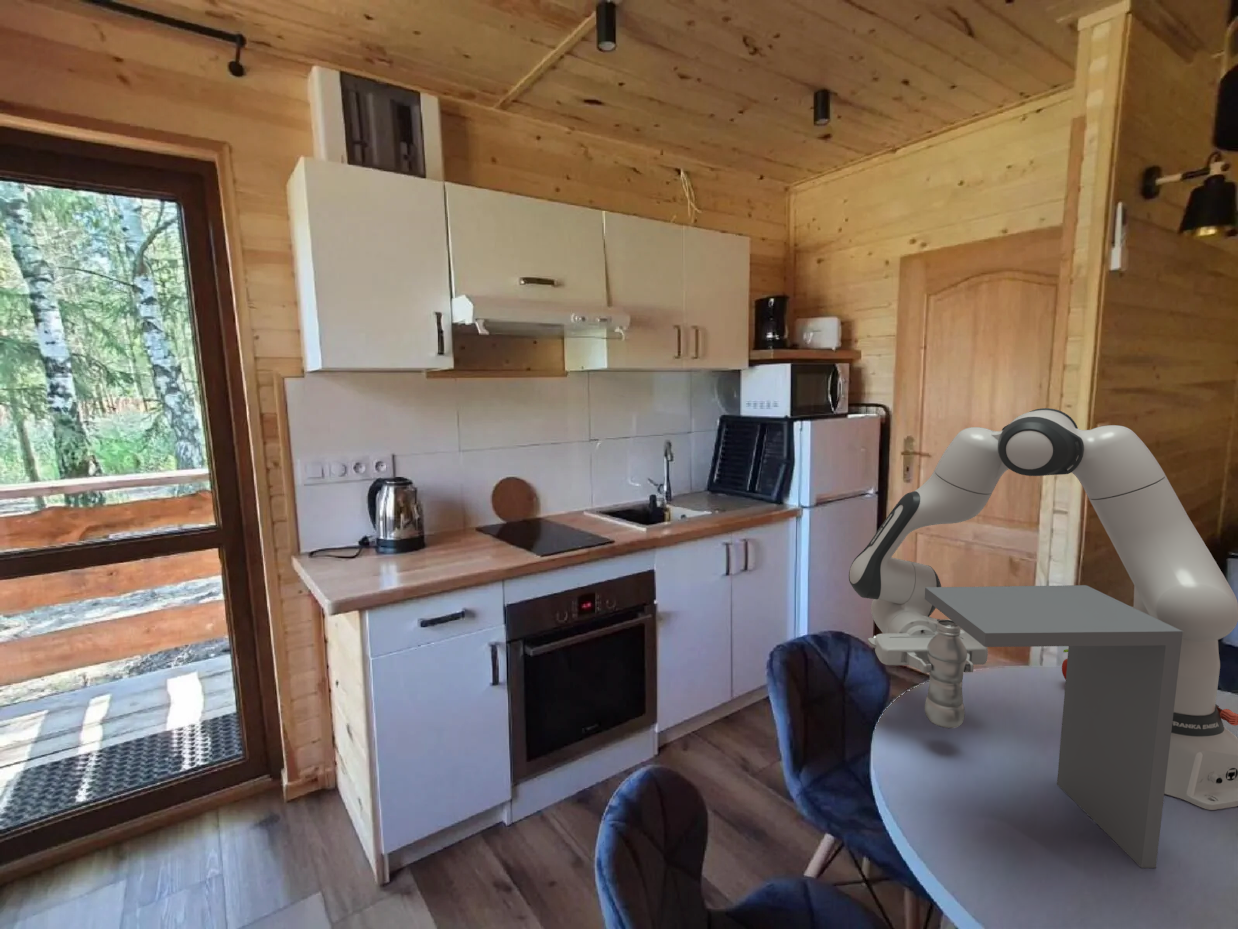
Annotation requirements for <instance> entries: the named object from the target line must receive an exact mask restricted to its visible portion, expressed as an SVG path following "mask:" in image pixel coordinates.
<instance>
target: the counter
mask: <svg viewBox="0 0 1238 929" xmlns="http://www.w3.org/2000/svg"><path fill="white" fill-rule="evenodd" d="M925 600H927V601H928V602H929V603H930V604H932V605H933V606H934V607H935V608H936V609H937V610H938V611H939V612H940V613H941V614H942V615H944V616H945V617H947V619H948V620H952V621H953V622H954V623H955V624H957V625H958V626H959V627H960V628H961V629H963V630H964V631H965V632H967V633H968V634H969V635H970V636H972V637H973V638H974V639H975V640H977V641H978V642H979V643H980V644H982V645H983V646H984V647H987V648H998V647H999V648H1001V647H1002V648H1005V647H1006V648H1007V647H1008V648H1011V647H1012V648H1013V647H1016V648H1017V647H1019V648H1021V647H1022V648H1023V647H1026V648H1027V647H1028V648H1031V647H1067V649H1068V652H1067V659H1068V660H1067V671H1066V680H1065V682H1064V683H1065V686H1064V696H1063V698H1064V699H1063V706H1062V707H1063V710H1062V718H1061V719H1062V720H1061V733H1060V741H1059V742H1060V745H1059V753H1058V754H1059V756H1058V765H1057V766H1058V767H1057V768H1058V769H1057V779H1056V780H1057V781H1056V785H1058V787H1059V788H1060V789H1061V790H1062V791H1063V792H1064V793H1065V794H1066V795H1067V796H1068V797H1069V798H1070V799H1071V800H1072V801H1073V802H1074V803H1076V805H1078V806H1079V808H1081V810H1082V811H1083V812H1084V813H1085V814H1087V815H1088V817H1089V818H1090V819H1091V820H1092V821H1094V823H1096V824H1097V826H1098V827H1100V829H1101V830H1102V831H1103V832H1104V833H1106V834H1107V835H1108V836H1109V838H1111V840H1113V841H1114V842H1115V843H1116V845H1118V847H1120V848H1121V849H1122V850H1123V851H1124V852H1125V853H1126V854H1127V856H1129V857H1130V858H1131V859H1132V860H1133V861H1134V863H1136V864H1137V865H1138V866H1139V867H1140V868H1141V869H1156V868H1157V862H1158V861H1157V860H1158V854H1159V853H1158V852H1159V842H1160V836H1161V825H1162V819H1163V818H1162V817H1163V816H1162V815H1163V809H1164V802H1165V801H1164V800H1165V794H1164V792H1165V783H1166V774H1167V766H1168V757H1169V748H1170V739H1171V730H1172V722H1173V713H1174V704H1175V695H1176V687H1177V678H1178V669H1179V660H1180V651H1181V643H1182V634H1183V631H1181V630H1179V629H1177V628H1175V627H1173V626H1171V625H1169V624H1166V623H1164V622H1162V621H1160V620H1158V619H1156V618H1154V617H1152V616H1150V615H1148V614H1146V613H1143V612H1141V611H1139V610H1137V609H1135V608H1134V606H1131V605H1128V604H1126V603H1124V602H1123V601H1120V600H1118V599H1115V598H1114V597H1112V596H1110V595H1108V594H1105V593H1103V592H1102V591H1099V590H1097V589H1095V588H1093V587H1091V586H1089V585H1087V584H1081V585H1079V584H1078V585H1075V584H1074V585H1014V586H1013V585H1009V586H1007V585H1005V586H1001V585H1000V586H999V585H997V586H995V585H994V586H941V587H925Z"/></svg>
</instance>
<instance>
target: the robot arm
mask: <svg viewBox="0 0 1238 929" xmlns="http://www.w3.org/2000/svg"><path fill="white" fill-rule="evenodd" d="M1009 470H1010V471H1012V472H1014V473H1016V474H1018V475H1022V476H1029V477H1043V476H1044V477H1046V476H1057V475H1058V476H1059V475H1060V476H1061V475H1069V474H1072V475H1074V476H1075V477H1076V478H1077V480H1078V481H1079V482H1080V484H1081V486H1082V488H1083V490H1084V492H1085V493H1086V494H1085V495H1086V496H1087V499H1088V500H1089V502H1090V504H1091V506H1092V507H1093V510H1094V511H1095V513H1096V515H1097V518H1098V519H1099V521H1100V524H1102V527H1103V528H1104V530H1105V532H1106V534H1107V536H1108V537H1109V539H1110V541H1111V543H1112V546H1113V547H1114V549H1115V551H1116V553H1117V555H1118V556H1119V558H1120V561H1121V562H1122V565H1123V567H1124V568H1125V570H1126V573H1127V574H1128V576H1129V578H1130V580H1131V582H1132V584H1133V585H1134V586H1133V588H1134V589H1133V608H1135V609H1137V610H1139V611H1141V612H1143V613H1146V614H1148V615H1150V616H1152V617H1154V618H1156V619H1158V620H1160V621H1162V622H1164V623H1166V624H1169V625H1171V626H1173V627H1175V628H1177V629H1179V630H1181V631H1183V634H1182V643H1181V651H1180V660H1179V669H1178V678H1177V687H1176V695H1175V704H1174V713H1173V722H1172V730H1171V739H1170V748H1169V757H1168V766H1167V774H1166V783H1165V792H1164V795H1168V796H1172V797H1175V798H1178V799H1182V800H1184V801H1186V802H1188V803H1191V804H1193V805H1195V806H1197V807H1199V808H1202V809H1204V810H1208V811H1209V810H1210V811H1215V810H1216V811H1217V810H1222V809H1228V808H1235V807H1238V736H1236V735H1235V734H1234V733H1233V732H1232V731H1230V730H1229V729H1228V728H1227V727H1225V726H1224V722H1223V721H1226V723H1228V724H1230V725H1231V726H1238V713H1236V712H1234V711H1232V710H1231V709H1229V708H1224V709H1222V708H1221V707H1220V705H1217V703H1216V702H1217V697H1218V696H1217V694H1218V689H1219V688H1218V686H1219V679H1220V677H1219V676H1220V671H1221V670H1220V669H1221V660H1220V654H1219V652H1220V650H1219V640H1221V639H1223V638H1226V636H1228V635H1230V634H1231V633H1232V632H1233V631H1234V629H1235V628H1236V627H1237V624H1238V599H1237V596H1236V594H1235V593H1234V591H1233V589H1232V588H1231V585H1230V584H1229V582H1228V581H1227V578H1226V577H1225V575H1224V573H1223V572H1222V571H1221V570H1222V569H1220V567H1219V565H1218V564H1217V561H1216V560H1215V559H1214V557H1213V555H1212V553H1211V552H1210V550H1209V548H1208V547H1207V546H1206V544H1205V542H1204V540H1203V538H1202V537H1201V535H1200V534H1199V532H1198V530H1197V529H1196V527H1195V525H1194V524H1193V522H1192V521H1191V519H1190V517H1189V515H1188V514H1187V511H1186V510H1185V508H1184V506H1183V505H1182V502H1181V501H1180V499H1179V497H1178V495H1177V493H1176V492H1175V489H1174V488H1173V487H1172V485H1171V482H1170V480H1169V479H1168V477H1167V475H1166V473H1165V471H1164V470H1163V468H1162V467H1161V465H1160V464H1159V462H1158V460H1157V459H1156V457H1155V456H1154V454H1153V453H1152V452H1151V451H1150V449H1149V447H1147V445H1146V444H1145V442H1143V441H1142V439H1141V438H1140V437H1139V436H1138V435H1137V434H1136V432H1134V431H1133V430H1132V429H1130V428H1128V427H1127V426H1123V425H1115V424H1112V425H1109V424H1108V425H1101V426H1098V427H1094V428H1092V429H1080V428H1079V426H1078V425H1077V423H1076V422H1075V420H1074V419H1073V418H1072V417H1071V416H1070V415H1069V414H1067V413H1065V412H1063V411H1061V410H1060V409H1055V408H1047V407H1045V408H1043V407H1042V408H1037V409H1033V410H1031V411H1027V412H1025V413H1022V414H1021V415H1019V416H1017V417H1015V418H1014V419H1013V420H1012V421H1011V422H1010V423H1008V424H1006V425H1005V426H1003V427H1002V429H1001V430H999V431H997V430H993V429H989V428H986V427H980V426H979V427H978V426H976V427H975V426H974V427H973V426H972V427H971V426H970V427H966V428H963V429H962V430H960V431H959V432H958V433H957V434H956V435H955V437H954V438H952V441H951V442H950V443H949V445H947V447H946V449H945V451H943V453H942V456H941V457H940V459H939V461H938V462H937V464H936V467H935V468H934V470H933V472H932V474H931V476H930V477H929V478H928V479H927V480H926V481H925V482H924V483H923V484H922V485H921V486H919V487H918V488H917V489H915V490H914V491H909V492H906V493H905V494H904V495H903V496H902V497H901V498H900V499H899V501H897V503H896V504H895V505H894V507H893V508H892V509H891V511H890V512H889V513H888V515H887V517H886V518H885V519H884V520H883V523H882V524H881V525H880V527H879V528H878V529H877V531H876V532H875V534H874V536H873V537H872V539H871V540H869V542H868V544H867V545H866V546H865V547H864V549H863V550H862V551H861V552H860V553H858V555H857V556H856V557H855V558H854V560H853V561H852V563H851V564H850V567H849V572H848V581H849V583H850V586H851V587H852V589H853V590H854V591H855V593H856V594H857V595H858V596H860V597H861V598H863V599H870V600H872V601H871V604H870V612H871V613H870V614H871V617H872V619H873V621H874V623H875V624H876V626H877V627H878V629H879V631H881V632H882V633H878V634H876V635H872V636H871V637H868V638H867V643H868V644H869V646H870V647H872V648H873V649H874V652H875V655H876V657H877V658H878V660H879V662H880V663H881V664H883V665H886V666H910V667H912V668H915V669H917V670H919V671H920V672H921V673H923V674H924V673H928V674H929V673H931V664H930V663H929V660H928V652H927V646H928V644H929V642H930V640H931V639H932V638H933V637H934V636H935V635H937V634H938V632H937V631H936V628H937V622H938V621H939V620H941V619H940V618H935V617H931V615H932V614H933V613H934V611H935V610H936V609H937V608H935V607H934V606H933V605H932V604H930V603H929V602H928V601H927V600H925V587H942V584H941V580H940V577H939V575H938V574H937V572H936V571H935V569H934V568H933V567H932V566H930V565H927V564H924V563H920V562H915V561H910V560H905V559H904V560H903V559H900V558H896V557H893V556H894V554H895V553H896V551H897V550H898V548H899V547H900V546H901V545H902V543H903V541H905V539H906V537H907V536H908V535H909V534H911V533H912V532H913V531H915V530H918V529H920V528H924V527H929V526H937V525H949V524H950V525H951V524H959V523H962V522H966V521H969V520H971V519H973V518H975V517H976V516H978V515H979V514H980V513H981V512H982V511H983V509H984V508H985V507H986V505H987V504H988V502H989V500H990V498H991V496H992V494H993V492H994V490H995V488H996V486H997V485H998V482H999V481H1000V479H1001V477H1002V476H1003V475H1004V474H1005V473H1006V472H1007V471H1009ZM958 637H959V638H960V640H961V641H962V642H963V644H964V646H965V647H966V650H967V659H966V664H965V668H964V672H963V673H973V672H974V665H976V666H977V665H978V666H979V665H985V664H986V663H987V662H988V658H989V657H988V656H989V652H988V650H989V648H988V647H984V646H983V645H982V644H980V643H979V642H978V641H977V640H975V639H974V638H973V637H972V636H970V635H969V634H968V633H967V632H965V631H964V630H963V629H962V628H960V635H959V636H958Z"/></svg>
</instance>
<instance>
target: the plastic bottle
mask: <svg viewBox="0 0 1238 929" xmlns="http://www.w3.org/2000/svg"><path fill="white" fill-rule="evenodd" d="M936 631H937V632H938V634H937V635H935V636H934V637H933V638H932V639H931V640H930V642H929V644H928V646H927V652H928V660H929V663H930V664H931V673H928V674H929V676H928V677H929V681H928V689H927V695H926V698H925V703H924V712H925V716H926V718H927V719H928V720H929V721H930V723H932V724H933V725H935V726H938V727H940V728H943V729H944V728H946V729H956V728H959V727H960V726H961V725H962V724H963V723H964V720H965V716H966V714H965V705H964V701H963V700H964V699H963V679H964V673H965V672H964V668H965V664H966V659H967V650H966V647H965V646H964V644H963V642H962V641H961V640H960V638H959V637H958V636H959V635H960V627H959V626H958V625H957V624H955V623H954V622H953V621H952V620H950V619H948V618H947V619H945V618H944V619H940V620H939V621H938V622H937V628H936Z"/></svg>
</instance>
